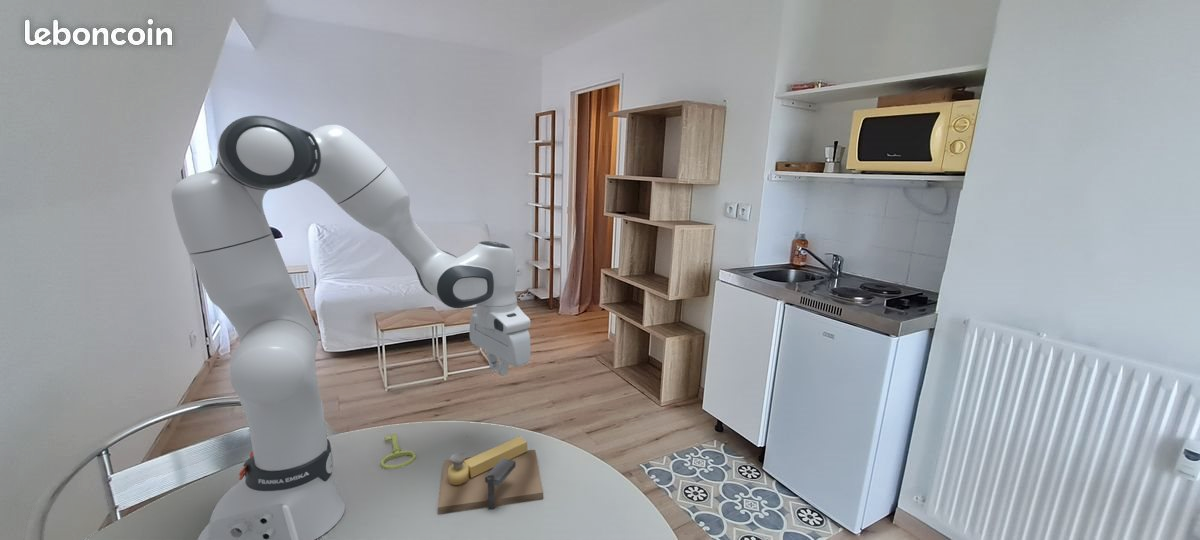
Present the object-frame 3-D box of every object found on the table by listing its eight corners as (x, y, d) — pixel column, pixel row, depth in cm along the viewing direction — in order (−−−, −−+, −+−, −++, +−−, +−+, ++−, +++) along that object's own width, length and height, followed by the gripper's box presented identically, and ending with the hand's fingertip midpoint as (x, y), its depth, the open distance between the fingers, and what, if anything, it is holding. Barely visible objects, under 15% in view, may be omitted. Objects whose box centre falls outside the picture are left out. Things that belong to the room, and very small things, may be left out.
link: (454, 487, 95) (453, 477, 94) (445, 478, 97) (444, 467, 97) (528, 452, 107) (528, 442, 106) (518, 444, 110) (518, 435, 109)
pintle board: (437, 519, 88) (435, 487, 87) (444, 466, 104) (442, 438, 103) (544, 503, 93) (543, 473, 92) (535, 455, 109) (535, 428, 107)
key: (395, 439, 115) (394, 431, 114) (419, 461, 106) (419, 453, 106) (364, 451, 109) (363, 443, 109) (387, 476, 101) (386, 467, 101)
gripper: (461, 306, 110) (463, 361, 113) (510, 328, 95) (511, 391, 98) (485, 301, 114) (487, 354, 117) (535, 322, 100) (536, 382, 103)
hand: (498, 371), depth 108 cm, fingers open, 2 cm apart
